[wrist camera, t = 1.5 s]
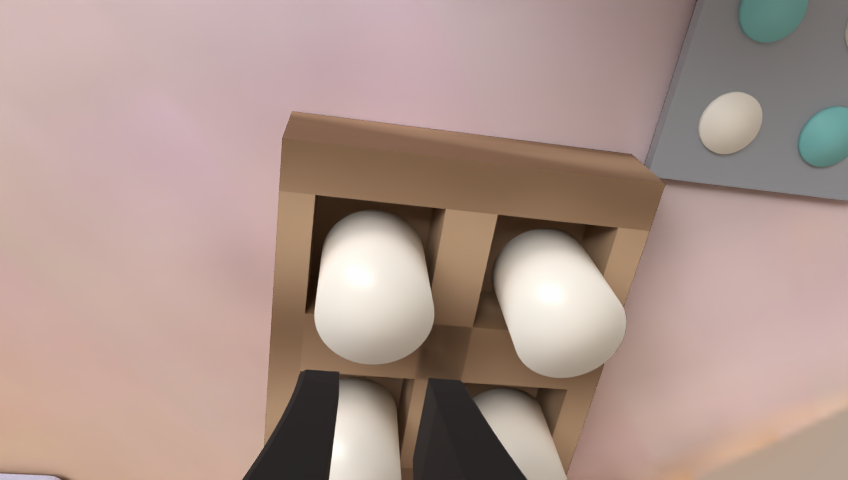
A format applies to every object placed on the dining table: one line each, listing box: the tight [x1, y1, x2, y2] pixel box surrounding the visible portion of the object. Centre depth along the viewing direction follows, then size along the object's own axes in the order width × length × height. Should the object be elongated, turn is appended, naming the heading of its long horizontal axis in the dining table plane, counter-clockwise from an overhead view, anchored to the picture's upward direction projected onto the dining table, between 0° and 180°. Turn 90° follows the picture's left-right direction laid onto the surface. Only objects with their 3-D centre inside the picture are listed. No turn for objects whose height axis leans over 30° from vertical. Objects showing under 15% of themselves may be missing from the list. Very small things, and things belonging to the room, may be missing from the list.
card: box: [645, 0, 848, 201], centre depth 18 cm, size 7×7×1 cm
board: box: [264, 111, 665, 480], centre depth 20 cm, size 12×10×2 cm
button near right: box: [492, 228, 626, 378], centre depth 17 cm, size 3×3×3 cm
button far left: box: [329, 377, 401, 480], centre depth 19 cm, size 3×3×3 cm
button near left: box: [314, 210, 434, 365], centre depth 16 cm, size 3×3×3 cm
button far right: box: [473, 388, 567, 480], centre depth 19 cm, size 3×3×3 cm
